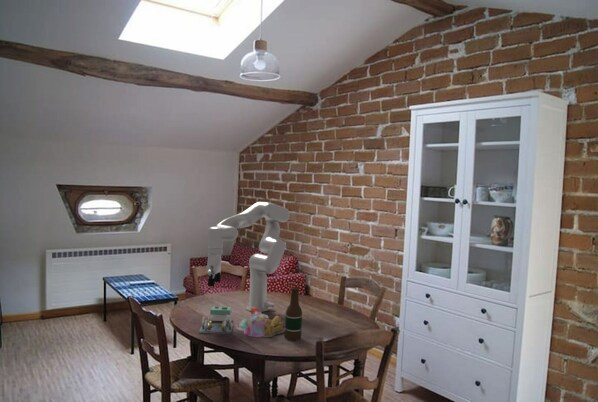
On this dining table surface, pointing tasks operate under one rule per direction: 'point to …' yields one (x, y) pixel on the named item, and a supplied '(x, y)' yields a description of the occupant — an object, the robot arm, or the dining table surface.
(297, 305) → the beer bottle
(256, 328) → the pastel sphere sculpture
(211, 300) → the dining table surface
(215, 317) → the white rectangular block
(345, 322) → the dining table surface
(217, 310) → the board
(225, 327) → the chassis
